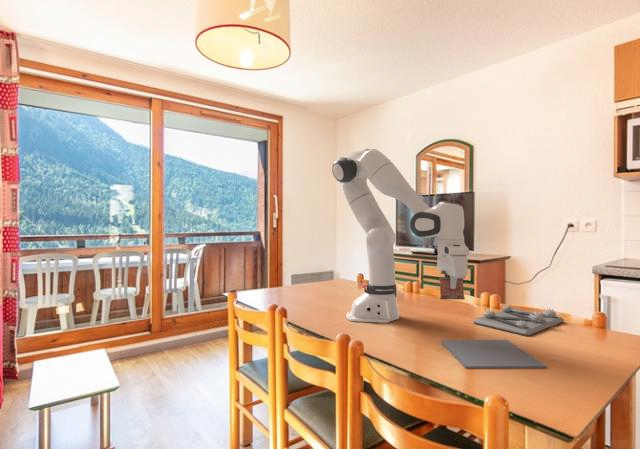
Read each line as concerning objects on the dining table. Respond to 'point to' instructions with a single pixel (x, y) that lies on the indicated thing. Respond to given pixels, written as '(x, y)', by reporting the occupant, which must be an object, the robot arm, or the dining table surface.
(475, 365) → the mat
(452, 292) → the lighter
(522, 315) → the grey spiked board
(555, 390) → the dining table surface
